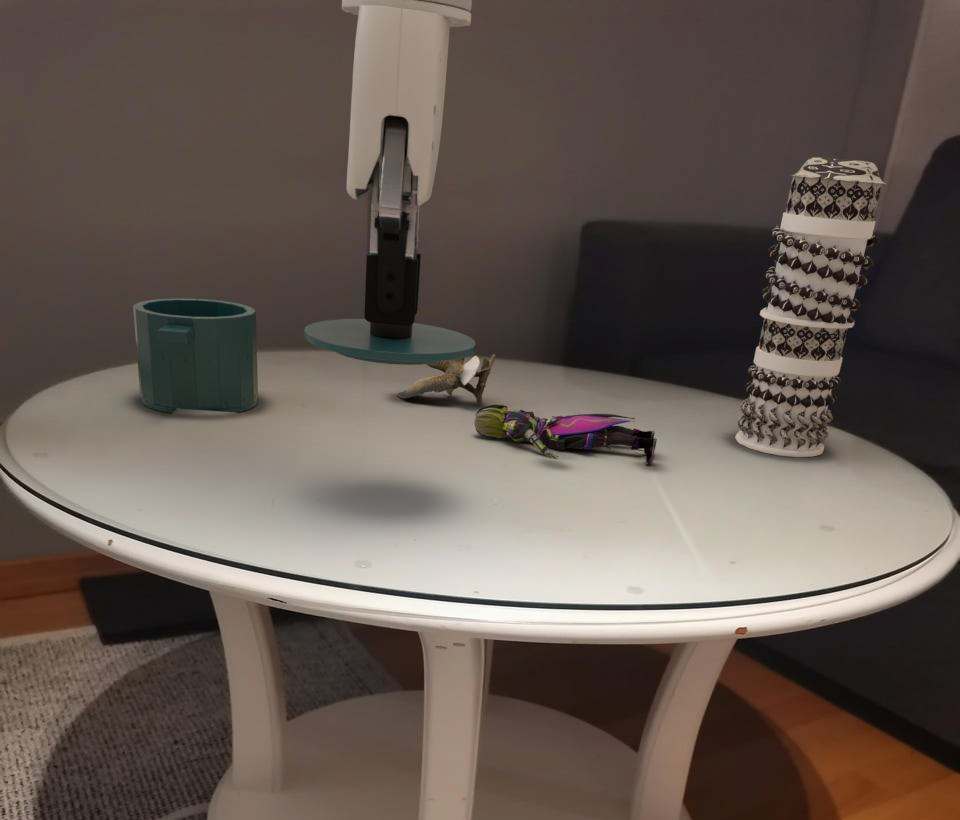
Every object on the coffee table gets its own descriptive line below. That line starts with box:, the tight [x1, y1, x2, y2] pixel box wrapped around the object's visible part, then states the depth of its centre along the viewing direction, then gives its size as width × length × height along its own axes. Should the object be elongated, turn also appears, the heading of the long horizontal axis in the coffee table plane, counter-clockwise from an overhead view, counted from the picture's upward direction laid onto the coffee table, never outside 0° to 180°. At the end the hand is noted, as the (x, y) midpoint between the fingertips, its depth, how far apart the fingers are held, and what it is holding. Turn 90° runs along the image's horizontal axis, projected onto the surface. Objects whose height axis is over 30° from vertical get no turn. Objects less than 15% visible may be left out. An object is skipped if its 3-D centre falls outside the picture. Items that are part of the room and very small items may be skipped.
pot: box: [132, 297, 259, 414], centre depth 91 cm, size 11×16×8 cm, turn 0°
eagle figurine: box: [396, 353, 496, 406], centre depth 99 cm, size 8×7×9 cm
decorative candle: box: [734, 157, 887, 458], centre depth 89 cm, size 9×9×25 cm
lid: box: [303, 247, 477, 366], centre depth 64 cm, size 11×11×7 cm
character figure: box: [474, 404, 658, 466], centre depth 86 cm, size 9×4×16 cm
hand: (391, 316), depth 64 cm, fingers closed on lid, 2 cm apart
